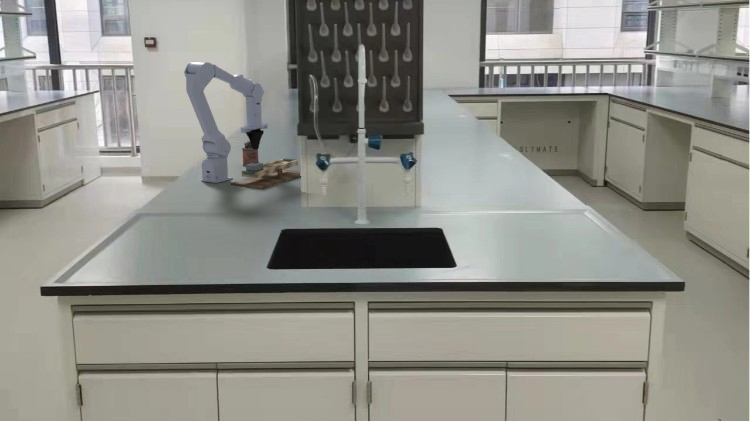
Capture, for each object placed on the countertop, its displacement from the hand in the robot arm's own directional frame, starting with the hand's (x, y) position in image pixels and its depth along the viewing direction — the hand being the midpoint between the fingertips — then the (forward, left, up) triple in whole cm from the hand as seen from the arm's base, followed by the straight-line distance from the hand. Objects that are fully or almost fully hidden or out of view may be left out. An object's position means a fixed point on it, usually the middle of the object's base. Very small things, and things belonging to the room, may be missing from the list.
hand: (255, 148), depth 282 cm
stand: (-8, -13, -9) cm, 18 cm away
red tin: (+12, +12, -10) cm, 19 cm away
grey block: (-18, -13, -5) cm, 22 cm away
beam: (-8, -13, -5) cm, 16 cm away
